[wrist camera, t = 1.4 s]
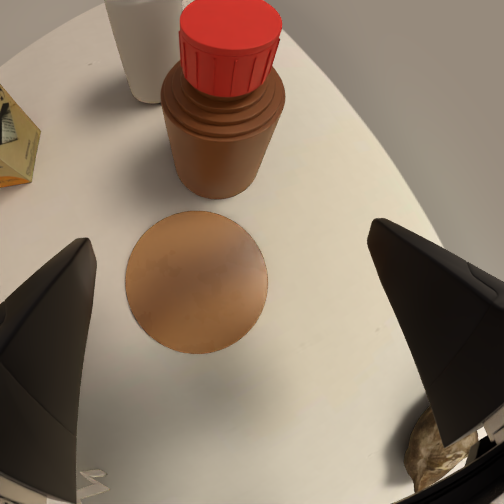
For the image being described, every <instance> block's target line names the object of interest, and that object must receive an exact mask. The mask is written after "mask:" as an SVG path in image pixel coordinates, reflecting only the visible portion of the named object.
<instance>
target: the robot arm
mask: <svg viewBox="0 0 504 504" xmlns="http://www.w3.org/2000/svg"><path fill="white" fill-rule="evenodd" d="M367 245H368V248H369V251H370V254H371V256H372V259H373V262H374V265H375V268H376V270H377V273H378V276H379V279H380V281H381V284H382V286H383V288H384V291H385V293H386V295H387V297H388V299H389V302H390V304H391V306H392V308H393V311H394V313H395V315H396V317H397V320H398V322H399V324H400V327H401V329H402V332H403V334H404V336H405V339H406V341H407V344H408V346H409V349H410V351H411V354H412V356H413V359H414V361H415V364H416V367H417V369H418V372H419V375H420V377H421V380H422V383H423V386H424V388H425V391H426V394H427V397H428V400H429V403H430V406H431V409H432V412H433V415H434V418H435V421H436V424H437V428H438V431H439V434H440V438H441V441H442V444H443V446H444V448H446V447H448V446H450V445H452V444H454V443H456V442H457V441H459V440H461V439H463V438H465V437H466V436H468V435H470V434H472V433H473V432H475V431H477V430H478V429H480V428H481V427H483V426H484V428H485V430H486V433H487V436H485V437H484V438H482V439H481V440H479V441H478V442H476V443H475V444H474V445H472V446H471V447H470V450H469V454H468V457H467V460H466V464H465V467H463V468H461V469H460V470H458V471H456V472H454V473H453V474H451V475H449V476H447V477H446V478H444V479H442V480H440V481H438V482H436V483H434V484H433V485H431V486H429V487H427V488H425V489H423V490H421V491H419V492H416V493H414V494H412V495H410V496H408V497H406V498H403V499H401V500H399V501H397V502H394V503H392V504H504V282H503V281H501V280H499V279H497V278H496V277H494V276H492V275H490V274H488V273H486V272H485V271H483V270H481V269H479V268H478V267H476V266H474V265H472V264H471V263H469V262H466V261H465V260H463V259H462V258H460V257H458V256H456V255H455V254H453V253H451V252H449V251H448V250H446V249H444V248H442V247H440V246H438V245H436V244H435V243H433V242H431V241H429V240H427V239H425V238H423V237H421V236H419V235H417V234H416V233H414V232H412V231H410V230H408V229H406V228H404V227H402V226H400V225H398V224H396V223H394V222H392V221H390V220H388V219H385V218H376V219H374V220H373V221H372V224H371V227H370V231H369V235H368V238H367ZM96 268H97V261H96V257H95V254H94V251H93V248H92V244H91V241H90V240H89V238H77V239H75V240H74V241H73V242H71V243H70V244H69V245H68V246H66V247H65V248H64V249H63V250H61V251H60V252H59V253H58V254H56V255H55V256H54V257H53V258H52V259H50V260H49V261H48V262H47V263H46V264H44V265H43V266H42V267H41V268H40V269H39V270H37V271H36V272H35V273H34V274H33V275H32V276H31V277H29V278H28V279H27V280H26V281H25V282H24V283H23V284H22V285H20V286H19V287H18V288H17V289H16V290H15V291H14V292H13V293H12V294H11V295H10V296H8V297H7V298H6V299H5V302H2V303H1V304H0V504H47V498H48V499H53V500H57V501H61V502H66V503H71V504H77V493H76V445H77V438H76V436H77V421H78V407H79V396H80V386H81V377H82V369H83V362H84V355H85V348H86V342H87V335H88V330H89V324H90V319H91V313H92V307H93V297H94V286H95V277H96Z"/></svg>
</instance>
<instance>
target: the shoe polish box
mask: <svg viewBox="0 0 504 504" xmlns="http://www.w3.org/2000/svg"><path fill="white" fill-rule="evenodd" d="M40 133H41V131H40V129H39V128H38V127H37V126H36V125H35V124H34V123H33V122H32V121H31V119H30V118H29V117H28V116H27V115H26V114H25V113H24V111H23V110H22V109H21V108H20V107H19V106H18V104H17V103H16V102H15V101H14V100H13V99H12V97H11V96H10V95H9V94H8V93H7V91H6V90H5V89H4V88H3V87H2V85H1V84H0V188H2V187H7V186H13V185H18V184H24V183H30V182H32V175H33V169H34V163H35V158H36V152H37V147H38V142H39V138H40Z"/></svg>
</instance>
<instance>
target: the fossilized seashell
mask: <svg viewBox="0 0 504 504" xmlns="http://www.w3.org/2000/svg"><path fill="white" fill-rule="evenodd" d="M476 442H478V433H477V431H475V432H473V433H472V434H470V435H468V436H466V437H465V438H463V439H461V440H459V441H457V442H456V443H454V444H452V445H450V446H448V447H446V448H444V446H443V444H442V441H441V438H440V434H439V431H438V428H437V424H436V421H435V418H434V415H433V412H432V409H431V406H429V407H428V408H427V410H426V411H425V412H424V413H423V414H422V415H421V417H420V418H419V420H418V422H417V423H416V425H415V427H414V429H413V431H412V433H411V437H410V439H409V447H408V449H407V450H406V453H405V456H404V466H405V468H406V470H407V473H408V474H409V476H410V477H411V479H412V480H413V483H414V492H415V493H416V492H419V491H421V490H423V489H425V488H427V487H428V486H430V485H432V484H433V483H435V482H436V481H438V480H439V479H441V478H442V477H443V476H444V475H446V474H447V473H448V472H449V471H450V470H451V469H453V468H454V467H455V466H456V465H457V464H458V463H459V462H460V461H461V460H462V459H464V458H466V457H468V454H469V450H470V447H471V446H472V445H474V444H475V443H476Z"/></svg>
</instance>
